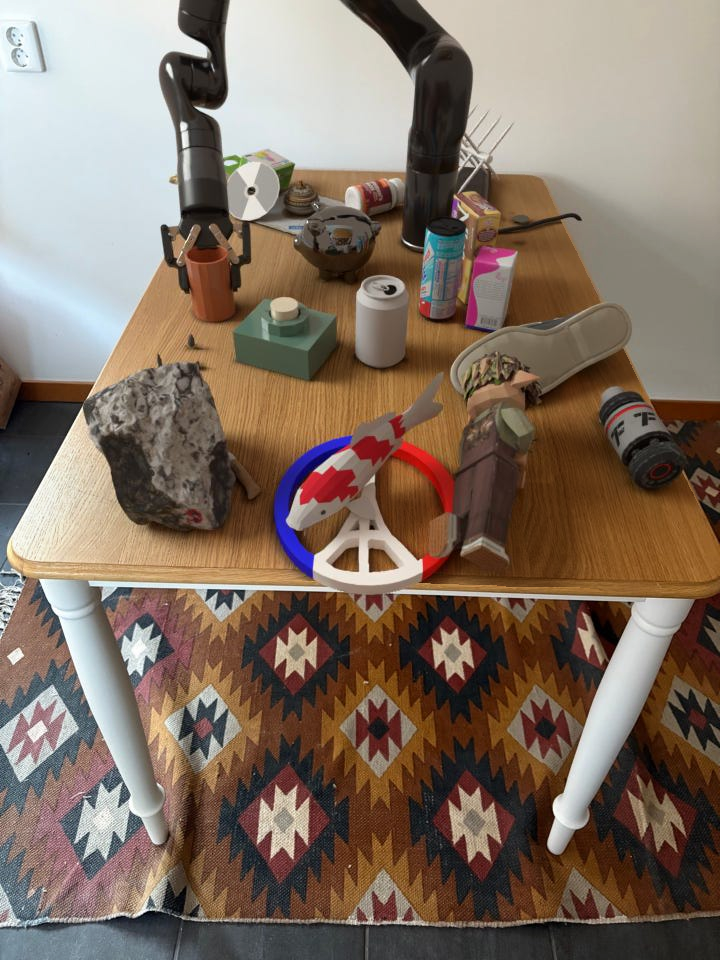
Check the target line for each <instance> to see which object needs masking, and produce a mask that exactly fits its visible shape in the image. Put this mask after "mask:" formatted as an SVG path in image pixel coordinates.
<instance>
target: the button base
mask: <svg viewBox="0 0 720 960" xmlns="http://www.w3.org/2000/svg"><path fill="white" fill-rule="evenodd" d="M273 300H274V299H269V298H264V299H263V300H262V301H261V302H260V303H259V304H258V305H257V306H256V307H255V308H254V309H253V310H252V311H251V312H250V313H249V314H248V315H247V316H245V318H244V319H243V320H242V321H241V322H239V324H238V325H237V326H236V328H234V329H233V331H232V337H233V338H232V339H233V345H234V353H235V361H236V362H237V363H242V364H245V365H248V366H252V367H256V368H260V369H264V370H267V371H271V372H275V373H278V374H283V375H286V376H289V377H294V378H297V379H301V380H305V381H311V379H312V378H313V377H314V376H315V374H316V373H317V372H318V370H319V369H320V368H321V367H322V365H323V364H324V362H325V361H326V359H328V357H329V356H330V355H331V354H332V352H333V351H334V349H335V348H336V346H337V345H338V324H337V323H338V319H337V318H338V315H336V314H331V313H327V312H323V311H320V310H315V309H312V308H311V309H310V308H309V307H307V306H306V305H305V304H304V303H302V302H300V301H297V302H298V309H299V316H298V318H296V319H294V320H291V321H278V320H274V319H273V318H272V317H271V309H270V303H271V302H272V301H273Z"/></svg>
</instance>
